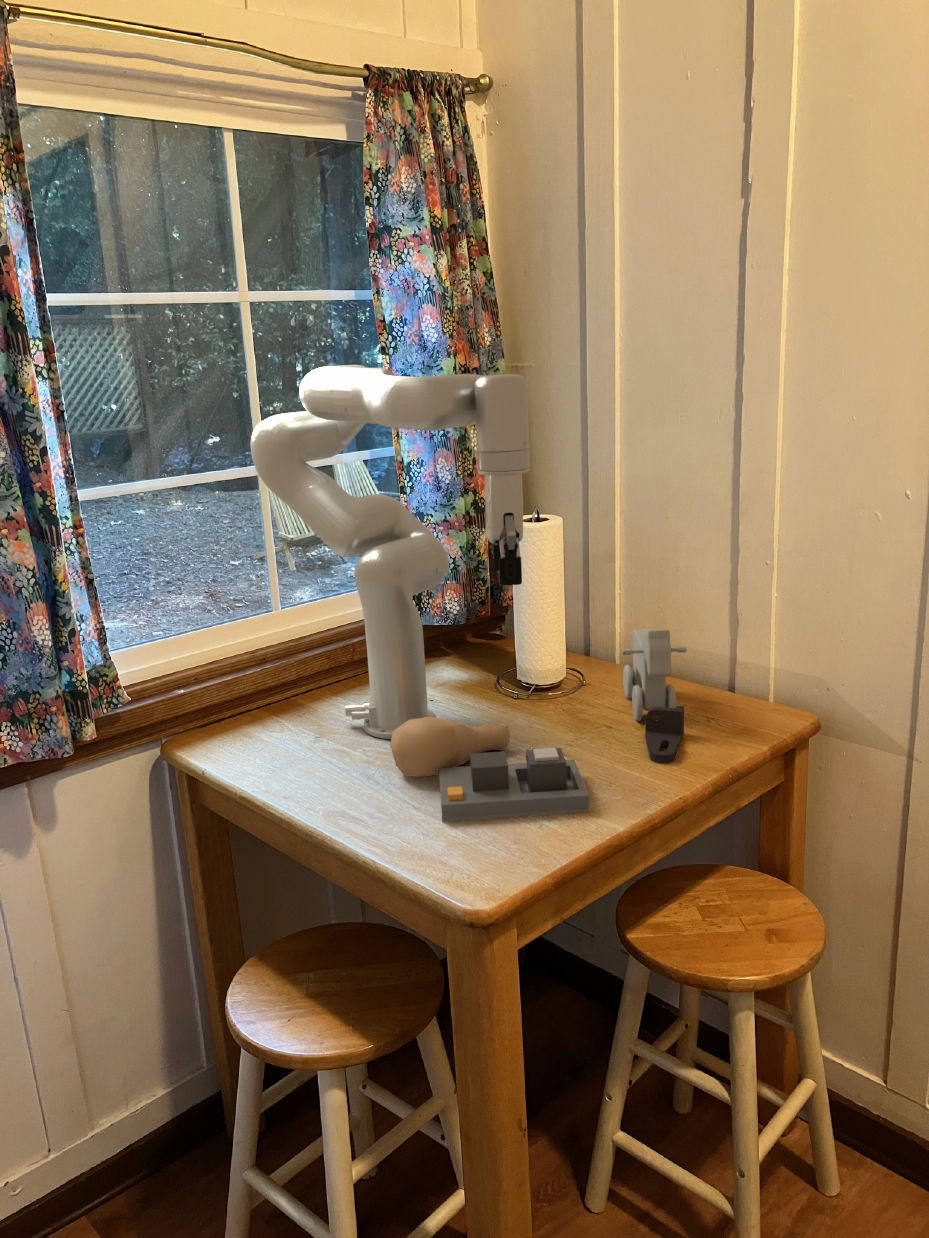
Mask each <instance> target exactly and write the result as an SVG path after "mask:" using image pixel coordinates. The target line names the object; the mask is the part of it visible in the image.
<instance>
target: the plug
mask: <svg viewBox="0 0 929 1238" xmlns="http://www.w3.org/2000/svg"><path fill="white" fill-rule="evenodd" d="M525 751H526V752H525V755H526V756H525V759H526V763H527V786H528V790H529V793H532V792H547V791H562V790H567V774H566V760H567V759H565V758H566V757H565V754H564V752H563V750H562V747H559V748H558V747H544V748H541V747H540V748H533V749H525Z"/></svg>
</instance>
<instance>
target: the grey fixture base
mask: <svg viewBox="0 0 929 1238" xmlns="http://www.w3.org/2000/svg"><path fill="white" fill-rule="evenodd" d="M565 760H566V774H567V790H562V791H547V792H532V793H529V790H528V786H527V762H516V763H515V762H513V763H508V758H507V755H506V751H491V752H480V753H474V754H470V759H469V764H470V765H468V766H467V765H466V766H455V767H451V768H439V774H438V776H439V777H438V778H439V788H440V789H439V791H440V792H439V794H440V806H441V808H440V809H441V821H442V823H447V822H450V823H451V822H461V821H463V822H464V821H475V820H476V821H477V820H491V819H493V820H494V819H508V818H521V817H537V816H551V815H565V814H566V815H567V814H580V813H590V795H589V792H588V790H587V788H586V784H585V782H584V779H583V777H582V774H581V773H580V772H581V771H580V770H579V768H578V764H577V763H576V759H565Z"/></svg>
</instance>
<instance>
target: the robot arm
mask: <svg viewBox="0 0 929 1238" xmlns="http://www.w3.org/2000/svg"><path fill="white" fill-rule="evenodd" d="M528 393H529V391H528V383H527V380H526V378H525V377H524V376H523V375H521V374H517V373H516V374H514V373H513V374H512V373H509V374H508V373H507V374H506V373H505V374H491V375H489V374H488V375H484V374H483V375H481V374H475V373H473V374H472V373H460V374H459V373H458V374H457V373H456V374H455V373H454V374H445V375H434V376H403V375H395V373H394V372H393V371H392V370H390V369H388V368H385V367H367V366H365V365H359V364H346V365H345V364H344V365H326V366H321V367H318V368H315V369H312V370H311V371H310V372H308V373H307V374H306V375H305V376H304V377H303V379H302V380H301V382H300V385H299V392H298V395H299V400H300V402H301V404H302V406H303V408H304V409H305V411H296V412H295V411H294V412H293V411H292V412H286V413H285V412H284V413H279V414H275V415H271V416H269V417H267V418H265V419H264V420H261V421H260V422H259V423H258V424H257V425H256V426H255V428H254V429H253V431H252V434H251V437H250V452H251V453H250V454H251V458H252V463H253V465H254V467H255V468H254V469H255V470H256V472H257V474H258V476H259V478H260V479H261V480H262V482H263V484H264V485H265V486H266V487H267V488H268V489H269V490H270V491H271V492H272V493H273V495H275V496H276V497H277V498H279V499H280V500H281V501H282V502H284V504H286V505H287V506H288V507H289V508H290V509H292V510H293V512H295V513H296V515H298V516H299V518H300V519H301V520H302V521H303V522H304V523H305V524H306V525H307V527H309V529H310V530H312V531H313V532H314V533H315V534H316V536H317V537H319V539H321V540H322V542H324V544H325V545H326V546H328V548H329V549H330V550H331V551H332V552H334V553H335V554H336V555H338V556H339V557H342V558H354V557H358V556H359V559H358V561H357V562H356V565H355V569H354V579H355V586H356V589H357V593H358V596H359V600H360V604H361V608H362V614H363V619H364V620H363V621H364V622H363V623H364V632H365V643H366V654H367V655H366V656H367V665H368V680H369V692H370V693H369V694H370V697H369V701H368V702H363V704H349V705H348V704H347V705H345V706H344V708H345V710H344V711H345V717H351V720H352V721H353V720H354V721H355V720H363V729H364V731H365V732H366V733H367V734H368V735H369V736H372V737H376V738H379V739H385V740H386V739H387V740H391V738H392V732H393V731H394V730H396V729H397V728H398V727H400V726H401V725H402V724H404V723H405V722H407V721H408V720H409V719H418V718H423V717H438V715H437V714H436V713H435V712H434V711H432V710H430V709H429V706H428V692H427V691H428V689H427V678H426V677H427V673H426V661H425V660H426V659H425V658H426V657H425V644H424V643H425V642H424V630H423V622H422V618H421V616H420V613H419V611H418V609H417V608H416V606H415V603H414V601H413V596H416V595H417V594H420V593H422V592H425V591H429V590H430V589H433V588H435V587H437V586H439V585H440V584H441V583H442V582H443V581H444V580H445V579H446V578H447V575H448V572H449V568H450V562H449V561H450V560H449V556H448V553H447V551H446V549H445V547H444V546H443V544H442V543H441V541H440V540H439V539H438V538H437V537H436V536H435V535H434V534H433V533H432V532H431V531H430V530H429V529H428V528H427V527H426V526H425V525H424V524H423V523H422V522H421V521H420V520H419V519H418V518H417V517H416V516H415V515H414V514H413V512H411V511H410V510H409V509H408V508H407V507H406V506H405V505H404V504H403V503H401V502H400V501H399V500H397V499H395V498H393V497H391V496H390V495H386V494H382V493H381V494H380V493H377V494H368V495H363V496H354V495H351V494H349V493H348V492H347V491H345V489H343V487H341V486H340V485H339V484H338V483H337V482H336V480H335V479H333V478H332V477H331V476H329V474H327V473H326V472H323V471H322V470H320V469H318V468H316V467H314V466H312V465H310V464H309V463H308V462H312V461H318V460H324V459H330V458H333V457H335V456H337V455H339V454H340V453H341V452H342V451H344V449H346V447H347V446H349V445H350V443H351V442H352V441H353V440H354V439H355V437H357V435H358V433H359V432H361V430H362V429H363V428H364V427H365V425H366V424H374V425H375V424H377V425H379V426H383V427H386V428H392V429H401V430H402V429H403V430H416V431H441V430H445V429H453V428H461V427H466V426H473V425H475V426H476V448H477V473H478V474H479V475H482V476H483V475H484V476H485V477H484V505H485V507H484V508H485V511H484V512H485V534H486V538H487V540H488V541H489V543H491V544H493V547H492V548H493V549H492V550H493V569H494V571H496V572H498V574H499V586H516V585H517V586H519V585H521V584H522V583H523V575H522V574H523V572H522V556H521V550H520V549H521V548H520V542H521V541H522V540H523V539H524V538H523V537H524V493H523V490H524V489H523V474H526V473H529V472H530V471H531V469H530V468H531V467H530V466H531V463H530V437H529V436H530V434H529V432H530V430H529V427H530V426H529V399H528V398H529V397H528Z"/></svg>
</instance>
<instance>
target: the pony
mask: <svg viewBox="0 0 929 1238" xmlns="http://www.w3.org/2000/svg"><path fill="white" fill-rule="evenodd" d="M671 646H672V645H671V631H670V630H669V629H668V630H667V629H666V630H665V629H664V630H654V629H653V628H646V629H645V628H644V629H633V630H632V649H631V648H622V655H623V656H624V655H625V656H626V655H632V667H631V665H630V664H625V665H624V666H623V670H622V671H623V672H622V682H623V684H622V685H623V692H624V696H625V698H626V699H631V707H632V714H633V718H634V720H635V721H636V722H640V721H642V719H643V715H644V713H643V712H644V711H647V712H648V711H649V710H650V709H651V708H654V707H665V708H676V706H678V704H677V694H676V689H675V686H674V685H673V684H672V683H668V684H667V682H666V681H667V677H670V676H671V675H672V653H686V652H687V647H686V646H677V647H671Z"/></svg>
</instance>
